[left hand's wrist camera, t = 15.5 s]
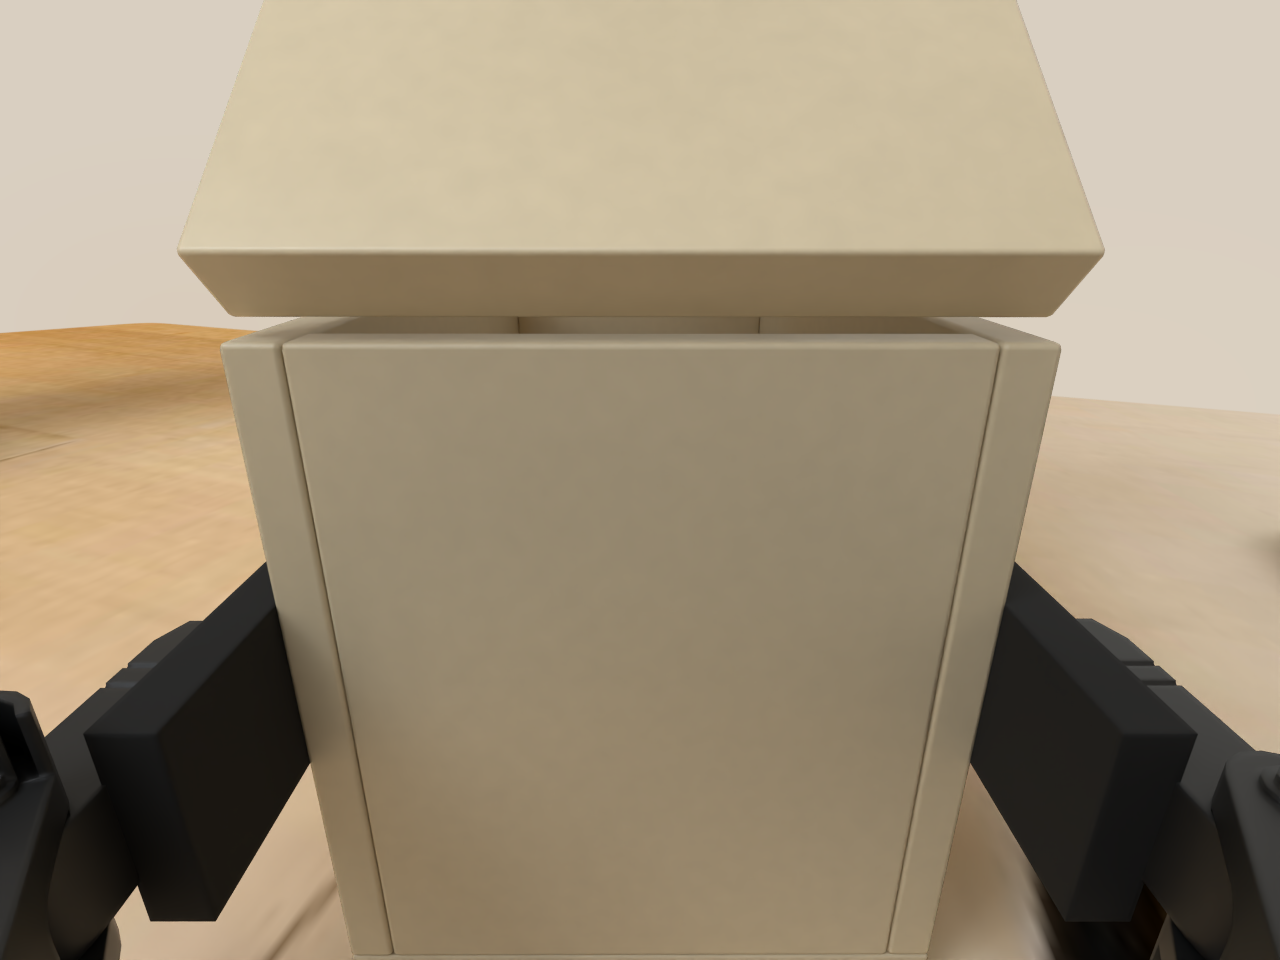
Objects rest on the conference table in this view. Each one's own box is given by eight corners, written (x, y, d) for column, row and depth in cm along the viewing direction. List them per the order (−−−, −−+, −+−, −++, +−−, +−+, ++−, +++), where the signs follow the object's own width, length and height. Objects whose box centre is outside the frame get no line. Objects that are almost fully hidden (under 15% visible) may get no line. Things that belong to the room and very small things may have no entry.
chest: (516, 542, 28) (496, 253, 24) (760, 542, 28) (781, 253, 24) (356, 985, 12) (215, 342, 8) (923, 984, 12) (1065, 343, 8)
